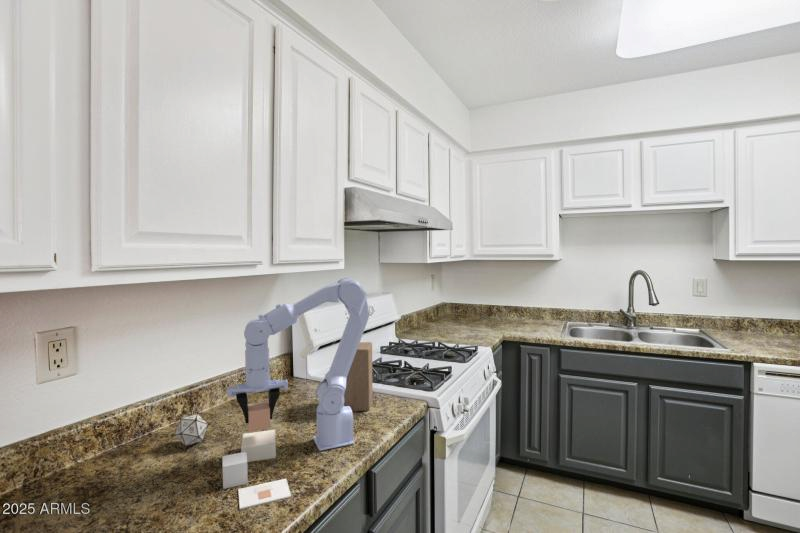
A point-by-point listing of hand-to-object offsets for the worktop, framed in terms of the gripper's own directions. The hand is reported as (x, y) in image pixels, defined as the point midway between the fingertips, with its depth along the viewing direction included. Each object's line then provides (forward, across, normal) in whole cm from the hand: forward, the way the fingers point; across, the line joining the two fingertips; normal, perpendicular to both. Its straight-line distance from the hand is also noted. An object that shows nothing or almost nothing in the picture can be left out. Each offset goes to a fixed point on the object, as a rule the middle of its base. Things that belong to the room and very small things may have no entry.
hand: (258, 420), depth 103 cm
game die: (+9, -16, +12) cm, 22 cm away
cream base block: (+9, 0, 0) cm, 9 cm away
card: (+8, 0, -19) cm, 21 cm away
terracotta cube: (+2, 0, 0) cm, 2 cm away
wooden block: (+9, +32, +20) cm, 39 cm away
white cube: (+8, -6, -11) cm, 15 cm away
